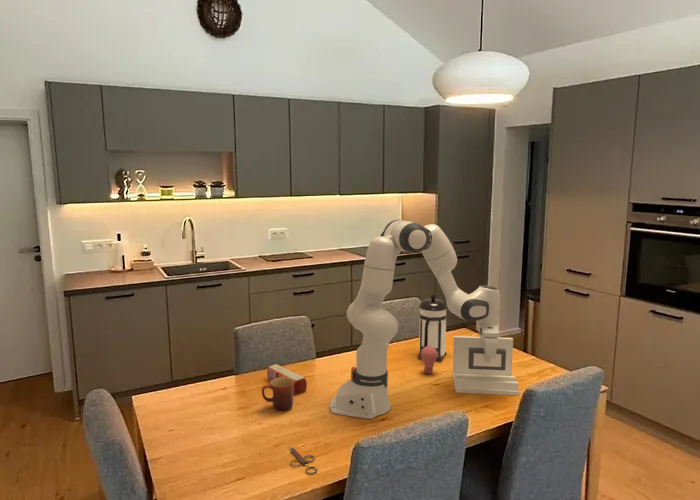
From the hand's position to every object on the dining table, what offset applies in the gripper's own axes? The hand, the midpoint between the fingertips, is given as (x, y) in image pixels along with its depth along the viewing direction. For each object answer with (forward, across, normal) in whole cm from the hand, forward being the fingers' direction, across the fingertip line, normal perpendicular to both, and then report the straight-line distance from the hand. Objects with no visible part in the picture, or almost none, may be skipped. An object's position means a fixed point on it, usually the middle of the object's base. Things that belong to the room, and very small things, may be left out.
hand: (486, 359), depth 203 cm
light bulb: (+12, -13, -22) cm, 29 cm away
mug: (+12, +26, -78) cm, 83 cm away
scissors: (+13, +57, -63) cm, 86 cm away
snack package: (+12, +6, -80) cm, 82 cm away
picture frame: (+4, 0, 0) cm, 4 cm away
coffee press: (+13, -31, -20) cm, 39 cm away
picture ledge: (+12, -3, 0) cm, 13 cm away
